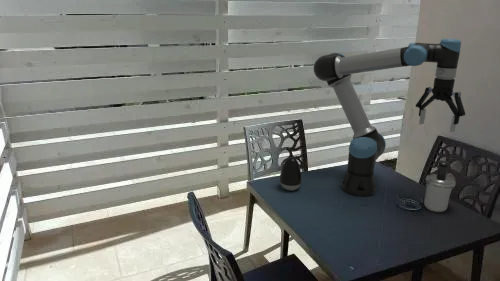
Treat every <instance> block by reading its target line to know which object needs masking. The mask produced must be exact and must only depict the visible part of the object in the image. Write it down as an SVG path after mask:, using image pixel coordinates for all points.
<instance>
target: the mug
mask: <svg viewBox="0 0 500 281" xmlns="http://www.w3.org/2000/svg"><path fill="white" fill-rule="evenodd" d="M452 189H453V188H438V187H435V186H432V185H430V184H428V183H427V182H426V188H425V194H424V201H423V204H424V207H425V208H426V209H427V210H428V211H431V212H435V213H443V212H445V211H447V209H448V205H449V201H450V196H451V192H452Z"/></svg>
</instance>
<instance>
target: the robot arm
mask: <svg viewBox="0 0 500 281" xmlns="http://www.w3.org/2000/svg"><path fill="white" fill-rule="evenodd" d="M461 46H462V42H461V40H460V39H459V38H458V39H456V38H443V39H440V42H439V43H430V42H429V43H427V42H426V43H425V42H411V43H409V44H408V46H405V47H398V48H392V49H387V50H386V49H385V50H380V51H373V52H367V53H362V54H356V55H350V56H345V55H344V54H342V53H338V52H332V53H330V54H325V55H322V56H319V58H317V59H316V60H315V62H314V64H313V73H314V75H315V77H316V78H317V79H318V80H320V81H323V82H326V83H327V85H328V87H331V88H332V89H333V90H334V93H335V95H336V97H337V99H338V101H339V103H340V105H341V108H342V110H343V112H344V114H345V117H346V118H347V121H348V124H349V125H350V127H351V130H352V132H353V134H352V140H351V141H350V142H349V146H348V160H347V171H346V174H345V175H344V178H343V180H342V182H341V189H342V190H343V191H344V192H345V193H347V194H350V195H353V196H357V197H358V196H359V197H369V196H372V195H374V194H375V193H376V191H377V185H376V181H375V176H374V175H375V174H374V173H375V164H376V161H377V160H378V159H379V157H380V156H382V155H383V153H385V149H386V147H387V146H386V144H387V143H386V140H385V138H384V136H383V135H382V134H381V133H379V132H378V130H377V127H375V126H373V125H372V124H371V122H370V121H369V118H368V116H367V113H366V112H365V108H364V107H363V105H362V102H361V101H360V98H359V96H358V95H357V93H356V92H357V91H356V90H355V88H354V86H353V84H352V82H351V77H352V75H355V74H361V73H368V72H376V71H380V70H382V71H383V70H389V69H397V68H402V67H411V66H412V67H418V66H421V65H423V63H435V64H436V66H435V67H436V68H435V73H434V74H435V75H434V76H435V78H434V80H433V85H432V86H433V88H432V87H431V86H428V87H425V89H424V92H423V94H422V95H421V97H420V98H419V100H418V101H417V102H416V104H415V107H416V108H418V109H419V112H418V117H419V122H418V124H419V125H424V124H425V119H426V114H427V109H426V108H427V107H428V106H429V105H430V104H432V102H434V101H435V100H436V101H441V102H445V103H447V105H448V107H449V108H450V110H451V113H452V114H453V115H452V117H451V121H450V122H451V123H450V127H449V132H450V133H453V132H455V131H456V126H457V125H458V124H459V123H460V117H464V116H466V111H465V108H464V105H463V104H464V103H463V101H462V98H461V96H462V94H461V91H454V86H455V78H456V75H457V69H458V64H459V60H460V59H459V58H460V55H461ZM430 93H432V95H431V96H430V97H429V95H430ZM452 96H453V97H452ZM428 97H429V98H428ZM427 98H428V99H427ZM453 98H454V100H453Z"/></svg>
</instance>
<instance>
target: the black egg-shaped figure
mask: <svg viewBox="0 0 500 281" xmlns="http://www.w3.org/2000/svg"><path fill="white" fill-rule="evenodd" d="M302 176H303V175H302V170H301V166H300V164H299V161H298V156H297V155H295V156H294V157H293V156H289V157H287V159H285V161H284V163H283V165H282V167H281V170H280V175H279V183H280V185H281V187H282V188H283V189H284V190H287V191H296V190H297V189H299V188H300V187H301V184H302V182H303V178H302Z"/></svg>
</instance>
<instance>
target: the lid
mask: <svg viewBox="0 0 500 281" xmlns="http://www.w3.org/2000/svg"><path fill="white" fill-rule="evenodd" d="M450 163H451V162H449V161H447V160H442V159H441V160H438V161H437V165H438V167H437V172H436V173H431V174H428V175H426V176H425V182H426V184H427V183H428V184H430V185H432V186H435V187H438V188H452V189H453V188H455V186H456V183H457V182H456V180H455V179H453V178H452V177H450V176H448V175H447V173H448V167H449V166H450Z"/></svg>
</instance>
